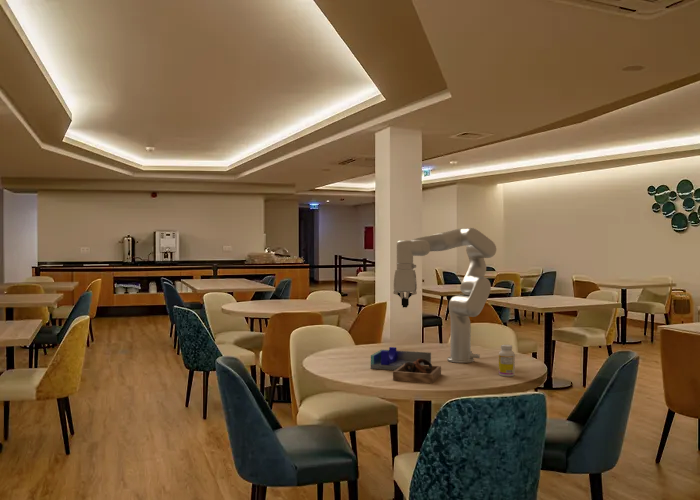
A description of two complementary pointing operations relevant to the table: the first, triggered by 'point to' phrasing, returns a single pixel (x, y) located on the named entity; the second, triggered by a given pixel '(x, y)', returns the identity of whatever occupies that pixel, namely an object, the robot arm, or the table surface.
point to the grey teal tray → (398, 359)
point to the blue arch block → (388, 356)
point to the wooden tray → (417, 374)
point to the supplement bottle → (506, 361)
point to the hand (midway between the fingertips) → (405, 307)
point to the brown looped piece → (418, 366)
